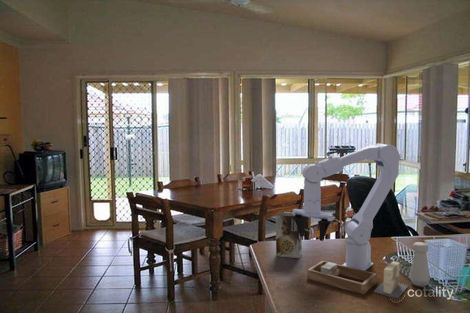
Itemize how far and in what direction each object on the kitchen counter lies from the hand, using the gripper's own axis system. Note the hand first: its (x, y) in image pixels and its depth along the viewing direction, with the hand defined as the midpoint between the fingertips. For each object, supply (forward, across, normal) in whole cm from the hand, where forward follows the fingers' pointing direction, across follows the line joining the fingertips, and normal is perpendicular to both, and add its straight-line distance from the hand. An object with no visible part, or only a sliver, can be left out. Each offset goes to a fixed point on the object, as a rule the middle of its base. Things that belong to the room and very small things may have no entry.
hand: (312, 238), depth 136 cm
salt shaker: (+11, +33, +8) cm, 36 cm away
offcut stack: (+11, +8, -4) cm, 14 cm away
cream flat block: (+10, +28, -1) cm, 29 cm away
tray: (+10, +13, -4) cm, 17 cm away
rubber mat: (+10, +28, -2) cm, 29 cm away
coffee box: (+11, -13, +6) cm, 18 cm away
